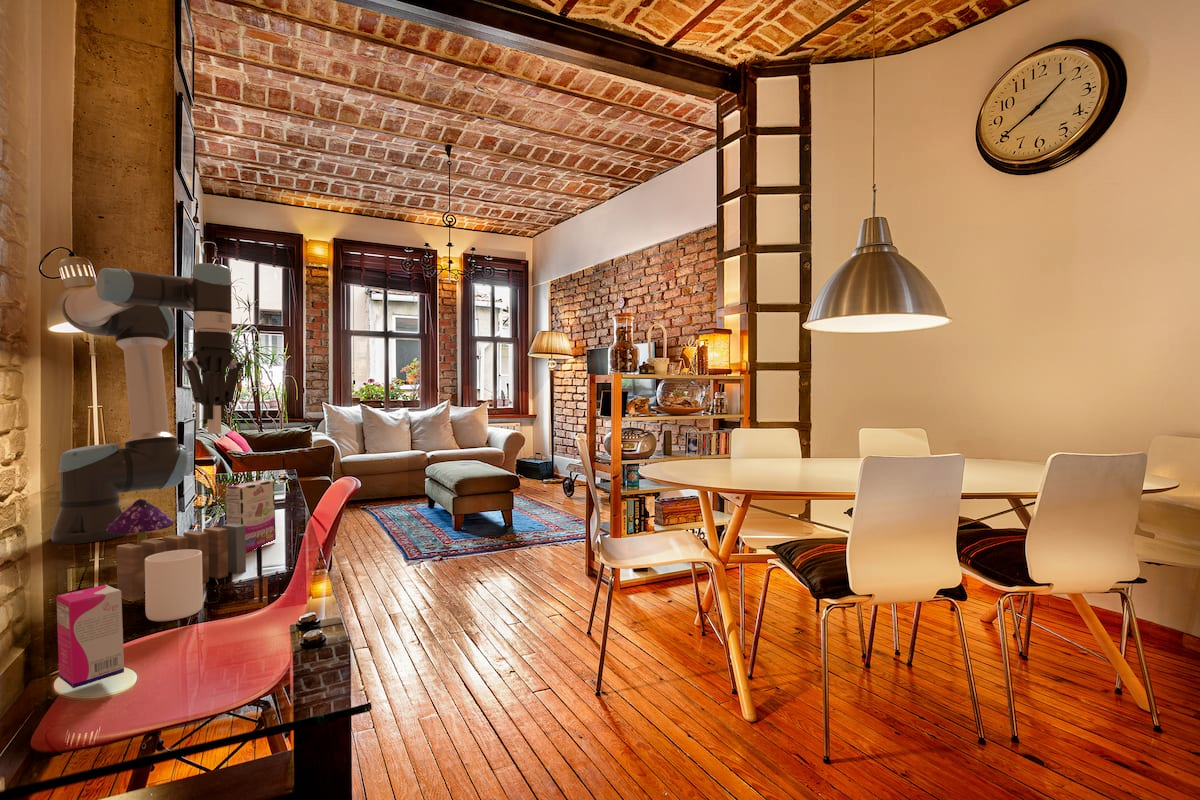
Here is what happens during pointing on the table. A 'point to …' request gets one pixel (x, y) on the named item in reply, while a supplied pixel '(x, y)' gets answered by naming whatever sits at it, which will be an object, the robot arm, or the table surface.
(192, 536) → the walnut domino
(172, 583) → the white oval pot
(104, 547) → the table surface
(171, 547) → the walnut domino
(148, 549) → the walnut domino
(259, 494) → the candy bar box
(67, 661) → the supplement box
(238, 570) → the charcoal domino
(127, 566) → the walnut domino
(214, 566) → the walnut domino
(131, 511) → the decorative mushroom
